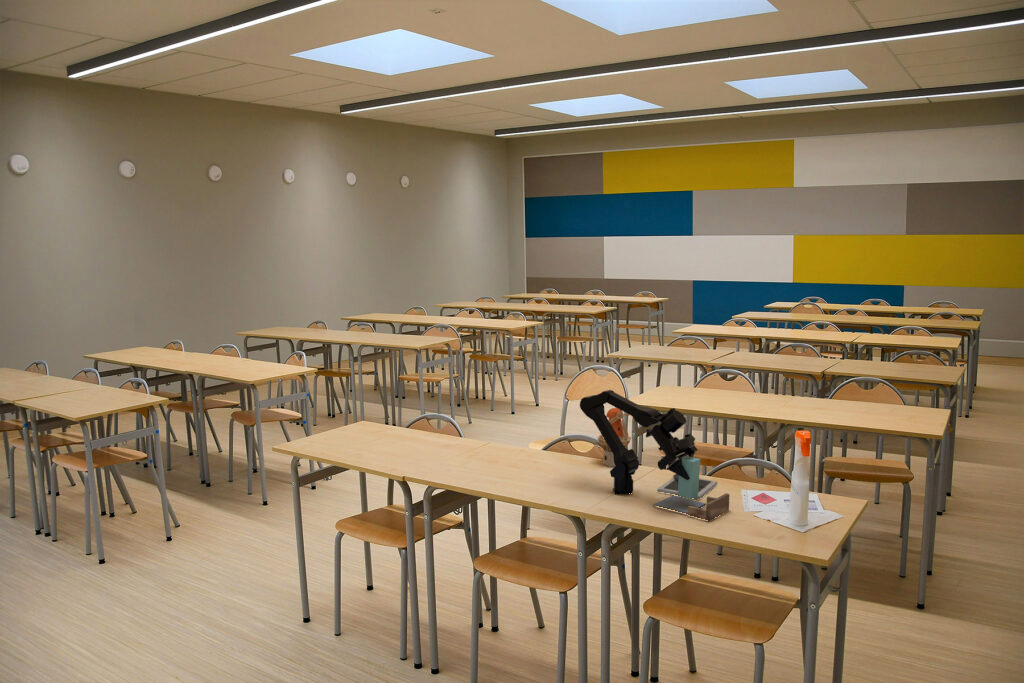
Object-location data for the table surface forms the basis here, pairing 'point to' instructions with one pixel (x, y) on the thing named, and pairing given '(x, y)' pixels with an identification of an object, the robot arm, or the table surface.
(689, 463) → the teal block
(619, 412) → the windmill
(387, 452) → the table surface
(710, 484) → the picture frame
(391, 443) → the table surface
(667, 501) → the slate pad
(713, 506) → the walnut slot rack
